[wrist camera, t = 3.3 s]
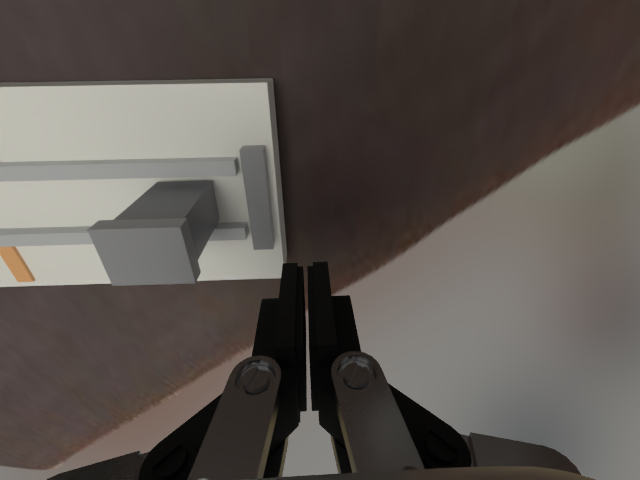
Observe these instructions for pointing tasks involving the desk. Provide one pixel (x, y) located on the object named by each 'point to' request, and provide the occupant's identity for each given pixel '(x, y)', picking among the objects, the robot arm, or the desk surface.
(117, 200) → the slider track base
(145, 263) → the fader tab
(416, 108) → the desk surface
